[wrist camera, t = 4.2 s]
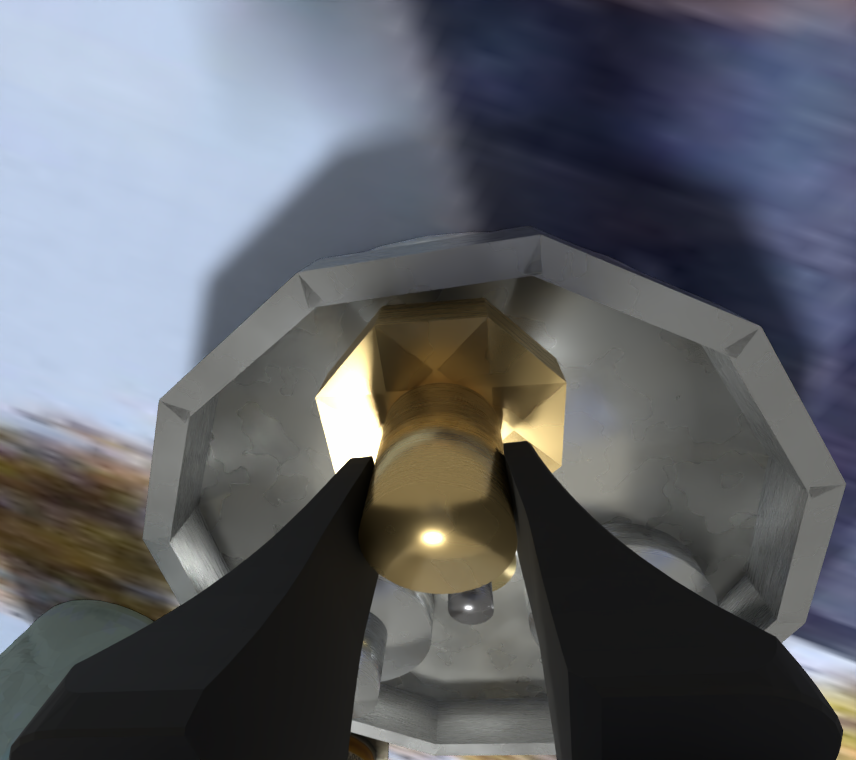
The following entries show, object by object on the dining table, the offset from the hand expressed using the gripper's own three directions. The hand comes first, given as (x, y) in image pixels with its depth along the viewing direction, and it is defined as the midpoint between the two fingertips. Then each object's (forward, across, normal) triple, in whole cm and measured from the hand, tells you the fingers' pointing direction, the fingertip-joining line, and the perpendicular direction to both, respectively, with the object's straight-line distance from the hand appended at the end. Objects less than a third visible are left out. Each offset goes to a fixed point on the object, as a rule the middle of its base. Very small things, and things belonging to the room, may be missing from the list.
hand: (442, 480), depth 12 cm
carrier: (+6, 0, +6) cm, 9 cm away
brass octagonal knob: (+3, 0, 0) cm, 3 cm away
